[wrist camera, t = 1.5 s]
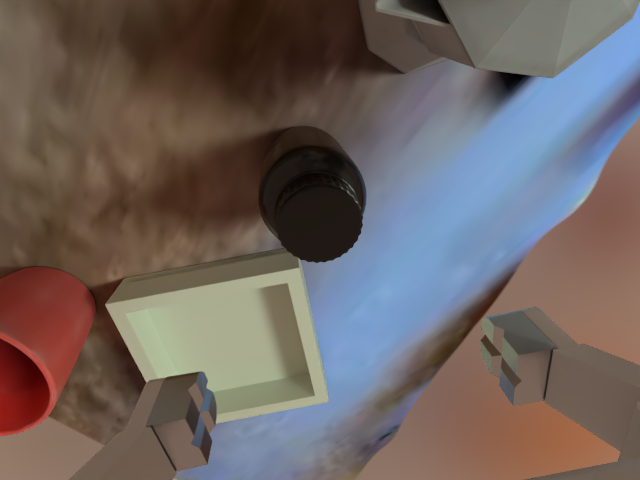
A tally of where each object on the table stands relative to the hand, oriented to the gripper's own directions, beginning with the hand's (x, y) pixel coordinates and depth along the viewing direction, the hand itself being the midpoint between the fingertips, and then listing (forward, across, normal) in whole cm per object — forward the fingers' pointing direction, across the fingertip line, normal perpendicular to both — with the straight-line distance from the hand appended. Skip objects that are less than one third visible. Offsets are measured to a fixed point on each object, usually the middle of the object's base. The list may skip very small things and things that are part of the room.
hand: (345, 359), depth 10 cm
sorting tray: (+22, +10, +15) cm, 28 cm away
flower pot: (+22, +25, +8) cm, 34 cm away
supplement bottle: (+22, 0, 0) cm, 22 cm away
